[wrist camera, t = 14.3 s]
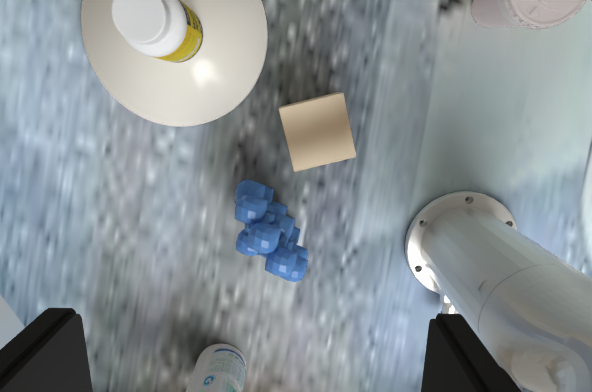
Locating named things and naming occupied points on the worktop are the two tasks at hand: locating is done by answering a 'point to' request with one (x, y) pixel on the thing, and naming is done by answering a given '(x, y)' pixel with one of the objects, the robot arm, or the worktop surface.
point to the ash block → (317, 131)
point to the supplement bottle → (159, 28)
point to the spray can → (218, 370)
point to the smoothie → (524, 12)
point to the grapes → (269, 231)
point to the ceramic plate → (186, 75)
